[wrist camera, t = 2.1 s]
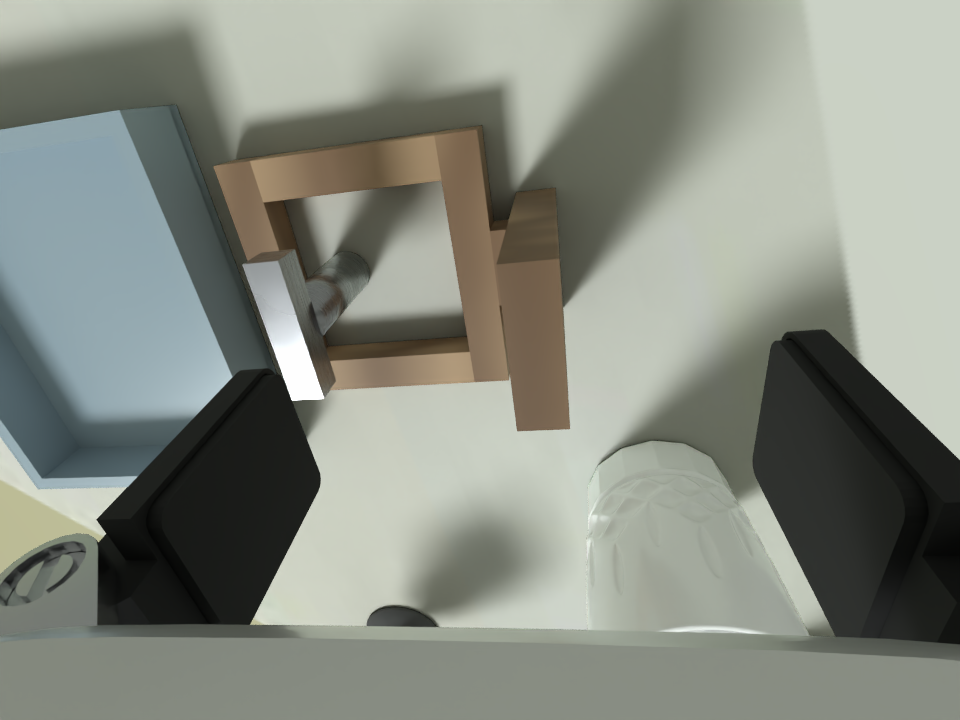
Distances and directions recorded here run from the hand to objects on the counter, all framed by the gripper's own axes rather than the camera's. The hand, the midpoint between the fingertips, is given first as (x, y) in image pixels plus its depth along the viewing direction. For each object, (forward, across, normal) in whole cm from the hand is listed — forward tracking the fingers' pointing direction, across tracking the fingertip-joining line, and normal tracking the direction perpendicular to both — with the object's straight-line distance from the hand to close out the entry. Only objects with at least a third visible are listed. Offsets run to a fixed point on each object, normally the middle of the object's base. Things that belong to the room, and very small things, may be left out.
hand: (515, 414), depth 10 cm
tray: (+12, +20, +2) cm, 23 cm away
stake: (+12, +8, +1) cm, 15 cm away
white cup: (+12, -5, +14) cm, 19 cm away
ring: (+12, +5, +1) cm, 13 cm away
